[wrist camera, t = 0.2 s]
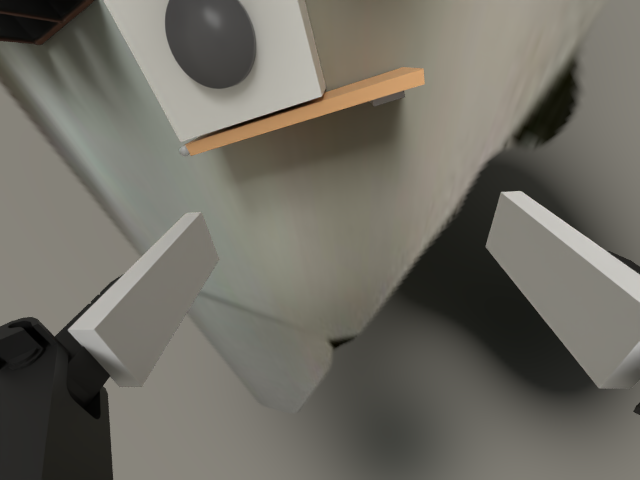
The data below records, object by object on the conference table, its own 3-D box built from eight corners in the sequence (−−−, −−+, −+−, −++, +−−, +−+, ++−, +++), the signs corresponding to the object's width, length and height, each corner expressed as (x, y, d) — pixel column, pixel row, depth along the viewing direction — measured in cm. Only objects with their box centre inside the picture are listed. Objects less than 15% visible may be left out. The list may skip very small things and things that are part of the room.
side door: (210, 129, 36) (176, 147, 28) (402, 67, 31) (423, 68, 23) (217, 144, 37) (186, 165, 29) (404, 86, 32) (425, 93, 24)
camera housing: (160, -1, 29) (76, -31, 20) (290, -60, 26) (263, -128, 17) (217, 123, 36) (174, 145, 27) (326, 88, 33) (321, 98, 24)
